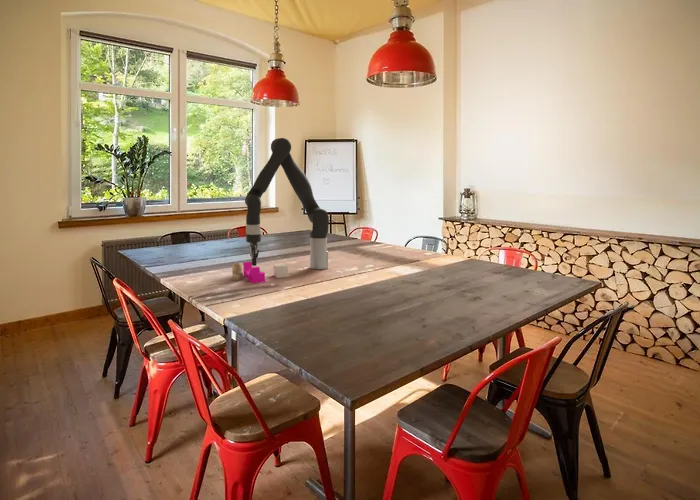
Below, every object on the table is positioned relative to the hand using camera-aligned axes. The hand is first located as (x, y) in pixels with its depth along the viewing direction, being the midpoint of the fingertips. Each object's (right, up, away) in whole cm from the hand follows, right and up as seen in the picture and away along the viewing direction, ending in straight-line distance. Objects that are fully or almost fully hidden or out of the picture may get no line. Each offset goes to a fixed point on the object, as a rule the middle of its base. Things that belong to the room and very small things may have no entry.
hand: (254, 265), depth 241 cm
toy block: (+3, -7, -12) cm, 14 cm away
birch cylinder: (-5, -7, -14) cm, 17 cm away
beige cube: (+15, -5, -5) cm, 17 cm away
